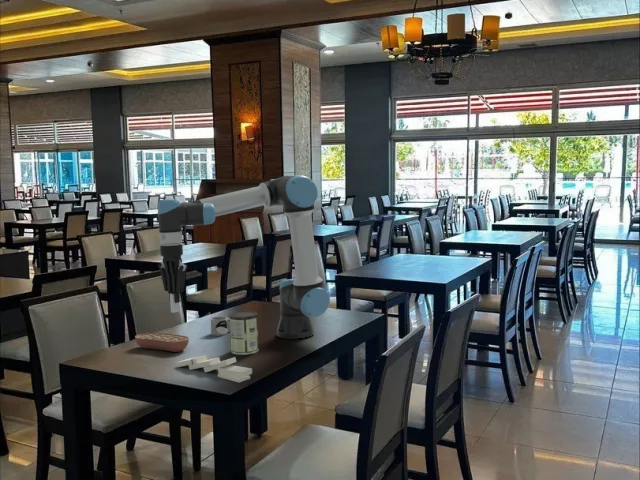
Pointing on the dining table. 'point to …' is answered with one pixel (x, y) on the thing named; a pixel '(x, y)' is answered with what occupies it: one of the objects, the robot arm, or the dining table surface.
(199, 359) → the domino
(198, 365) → the domino
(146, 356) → the dining table surface
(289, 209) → the robot arm
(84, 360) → the dining table surface
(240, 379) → the domino
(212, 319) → the mug
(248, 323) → the coffee can
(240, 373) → the domino
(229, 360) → the domino
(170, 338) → the brown low oblong piece
